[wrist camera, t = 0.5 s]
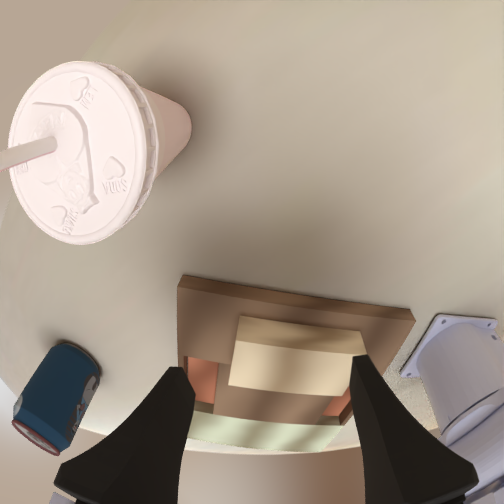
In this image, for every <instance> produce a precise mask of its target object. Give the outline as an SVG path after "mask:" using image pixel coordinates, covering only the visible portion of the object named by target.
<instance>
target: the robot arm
mask: <svg viewBox="0 0 504 504" xmlns="http://www.w3.org/2000/svg"><path fill="white" fill-rule="evenodd" d="M497 323H498V321H497V320H496V319H488V318H476V317H464V316H453V315H442V314H440V315H437V316H436V317H435V319H434V320H433V322H432V324H431V326H430V327H429V329H428V331H427V332H426V334H425V336H424V337H423V339H422V340H421V342H420V344H419V345H418V347H417V348H416V350H415V351H414V353H413V354H412V356H411V357H410V359H409V360H408V362H407V363H406V365H405V366H404V368H403V369H402V370H401V372H400V376H401V377H421V380H422V382H423V385H424V387H425V390H426V393H427V395H428V398H429V401H430V403H431V406H432V409H433V412H434V415H435V418H436V421H437V424H438V427H439V430H440V433H441V437H439V438H438V439H437V438H435V437H434V436H433V435H432V434H430V433H429V432H428V431H427V430H426V429H425V428H424V427H423V426H422V425H421V424H420V423H419V422H418V421H417V420H416V419H415V418H414V417H413V416H412V415H411V414H410V412H409V411H408V410H407V409H406V408H405V407H404V405H403V404H402V403H401V402H400V401H399V399H398V398H397V397H396V396H395V394H394V393H393V391H392V390H391V389H390V387H389V386H388V385H387V383H386V382H385V380H384V379H383V377H382V376H381V374H380V373H379V371H378V370H377V368H376V367H375V365H374V363H373V362H372V360H371V358H370V356H369V355H367V354H365V355H358V356H353V358H352V366H351V374H350V382H349V389H350V397H351V404H352V410H353V414H354V418H355V422H356V427H357V431H358V435H359V440H360V444H361V449H362V455H363V463H364V477H365V498H366V499H365V502H366V504H504V343H503V342H502V340H501V339H500V337H499V336H498V335H497V333H496V332H495V330H494V329H495V327H496V325H497ZM195 397H196V393H195V391H194V389H193V387H192V385H191V383H190V381H189V380H188V378H187V376H186V373H185V371H184V369H183V367H169V368H168V370H167V371H166V372H165V373H164V375H163V376H162V377H161V379H160V380H159V381H158V382H157V384H156V385H155V386H154V388H153V389H152V390H151V391H150V393H149V394H148V395H147V396H146V397H145V399H144V400H143V401H142V402H141V403H140V405H139V406H138V407H137V408H136V409H135V410H134V411H133V412H132V414H131V415H130V416H129V417H128V418H127V419H126V420H125V421H124V422H123V423H122V424H121V425H120V426H119V427H118V428H116V429H115V430H114V431H113V432H112V433H111V434H109V435H108V436H107V437H106V438H104V439H103V440H102V441H100V442H99V443H98V444H96V445H95V446H93V447H92V448H91V449H89V450H87V451H85V452H84V453H82V454H80V455H79V456H77V457H75V458H73V459H71V460H68V461H66V462H64V463H62V464H61V466H60V468H59V471H58V473H57V475H56V478H55V480H54V485H55V486H56V487H58V488H59V489H61V490H63V491H64V492H66V493H68V494H70V495H71V496H73V497H75V498H76V499H77V500H76V502H73V501H71V500H69V499H67V498H66V497H64V496H62V495H59V494H58V493H56V492H53V495H52V497H51V500H50V503H49V504H177V501H178V485H179V474H180V467H181V460H182V455H183V451H184V447H185V444H186V440H187V436H188V432H189V429H190V425H191V421H192V417H193V413H194V405H195Z"/></svg>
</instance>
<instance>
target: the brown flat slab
mask: <svg viewBox="0 0 504 504" xmlns="http://www.w3.org/2000/svg"><path fill="white" fill-rule="evenodd" d="M240 316H246V317H253V318H259V319H265V320H272V321H279V322H286V323H293V324H300V325H308V326H316V327H324V328H333V329H342V330H352V331H360V333H361V336H362V339H363V343H364V346H365V349H366V353H367V355H369V356H370V358H371V360H372V362H373V363H374V365H375V367H376V368H377V370H378V371H379V373H380V374H381V376H382V375H383V374H384V372H385V371H386V369H387V368H388V366H389V365H390V363H391V362H392V360H393V359H394V357H395V355H396V354H397V352H398V351H399V349H400V347H401V346H402V344H403V343H404V341H405V339H406V338H407V336H408V334H409V333H410V331H411V329H412V327H413V326H414V324H415V322H416V320H415V318H414V316H413V314H412V313H411V311H410V309H402V308H393V307H385V306H377V305H369V304H362V303H354V302H347V301H339V300H332V299H325V298H318V297H311V296H305V295H298V294H291V293H285V292H279V291H272V290H266V289H260V288H254V287H248V286H242V285H236V284H230V283H224V282H219V281H213V280H208V279H202V278H197V277H191V276H186V275H183V276H182V278H181V280H180V282H179V284H178V286H177V343H178V367H183V369H184V371H185V373H186V376H187V378H188V380H189V381H190V383H191V385H192V387H193V389H194V391H195V393H196V397H195V405H194V413H193V417H192V421H191V425H190V429H189V432H188V436H187V438H191V439H196V440H201V441H206V442H211V443H217V444H223V445H230V446H237V447H245V448H254V449H264V450H276V451H294V452H321V451H322V450H323V449H324V448H325V447H326V446H327V445H328V443H329V442H330V441H331V440H332V439H333V438H334V437H335V436H336V434H337V433H338V432H339V431H340V430H341V429H342V427H343V426H344V425H345V424H346V423H347V421H348V420H349V419H350V418H351V417H352V415H353V410H352V404H351V397H350V389H349V386H348V387H347V389H346V391H345V392H344V394H343V395H342V396H324V395H308V394H296V393H285V392H275V391H267V390H259V389H251V388H244V387H238V386H231V385H228V383H229V377H230V370H231V364H232V358H233V352H234V347H235V341H236V335H237V329H238V324H239V318H240ZM218 367H219V369H218ZM217 375H218V377H217ZM216 384H217V385H216ZM215 392H216V394H215ZM214 401H215V402H214Z"/></svg>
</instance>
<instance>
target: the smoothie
mask: <svg viewBox="0 0 504 504" xmlns="http://www.w3.org/2000/svg"><path fill="white" fill-rule="evenodd" d="M191 132H192V123H191V119H190V116H189V114H188V113H187V111H186V110H185V109H184V108H183V107H182V106H181V105H180V104H178V103H176V102H174V101H172V100H170V99H168V98H166V97H163V96H161V95H159V94H157V93H154V92H152V91H150V90H148V89H145V88H143V87H141V86H139V85H138V84H137V83H136V82H135V80H134V79H133V78H132V77H131V76H130V75H128V74H127V73H125V72H123V71H122V70H120V69H119V68H117V67H116V66H114V65H110V64H105V63H101V62H96V61H92V62H85V61H73V62H67V63H64V64H61V65H58V66H56V67H54V68H52V69H50V70H48V71H47V72H45V73H44V74H43V75H42V76H40V77H39V78H38V79H37V80H36V81H35V82H34V83H33V84H32V85H31V87H30V88H29V89H28V91H27V92H26V93H25V95H24V96H23V98H22V100H21V102H20V103H19V106H18V107H17V110H16V112H15V115H14V118H13V121H12V125H11V128H10V134H9V141H8V149H5V150H3V151H0V172H2V171H5V170H7V169H9V171H10V177H11V180H12V184H13V187H14V191H15V193H16V195H17V197H18V200H19V202H20V204H21V205H22V207H23V209H24V210H25V212H26V213H27V215H28V216H29V217H30V218H31V220H32V221H33V222H34V223H35V224H36V225H37V226H38V227H39V228H40V229H42V230H43V231H44V232H45V233H47V234H48V235H50V236H52V237H53V238H55V239H57V240H60V241H63V242H66V243H70V244H77V245H84V244H92V243H95V242H98V241H101V240H103V239H105V238H107V237H108V236H110V235H111V234H113V233H114V232H115V231H117V230H118V229H121V228H123V227H124V226H125V225H126V224H127V223H128V222H129V221H130V220H131V219H133V218H134V217H135V216H136V215H137V214H138V212H139V211H140V209H141V208H142V206H143V204H144V203H145V201H146V200H147V198H148V197H149V195H150V192H151V189H152V186H153V183H154V180H155V179H156V178H157V177H158V176H159V174H160V173H161V172H162V171H163V170H164V169H165V168H166V167H167V166H168V165H169V164H170V162H171V161H172V160H173V159H174V158H175V157H176V156H177V155H178V154H179V153H180V152H181V151H182V150H183V149H184V148H185V146H186V145H187V144H188V142H189V139H190V137H191Z"/></svg>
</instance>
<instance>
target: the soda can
mask: <svg viewBox="0 0 504 504" xmlns="http://www.w3.org/2000/svg"><path fill="white" fill-rule="evenodd" d="M99 383H100V378H99V370H98V366H97V364H96V363H95V361H94V360H93V359H92V358H91V357H90V356H89V355H88V354H87V353H86V352H85V351H83V350H82V349H80V348H79V347H77V346H75V345H72V344H69V343H63V344H60V345H56V346H54V347H52V348H51V349H50V351H49V352H48V354H47V355H46V356H45V358H44V359H43V361H42V362H41V364H40V365H39V367H38V368H37V370H36V371H35V373H34V374H33V376H32V377H31V379H30V381H29V382H28V384H27V385H26V387H25V388H24V390H23V392H22V393H21V395H20V397H19V398H18V400H17V402H16V403H15V405H14V413H13V414H14V415H13V418H14V419H13V420H12V425H13V426H14V427H15V428H16V429H17V431H18V432H20V433H21V434H22V435H23V436H24V437H26V438H27V439H28V440H29V441H31V442H32V443H34V444H35V445H36V446H38V447H40V448H41V449H43V450H45V451H47V452H48V453H50V454H53V455H55V456H59V455H60V452H62V451H63V450H65V449H66V448H68V447H69V446H70V444H71V442H72V440H73V438H74V435H75V433H76V431H77V429H78V427H79V425H80V422H81V420H82V418H83V416H84V414H85V412H86V410H87V408H88V406H89V404H90V402H91V400H92V398H93V396H94V394H95V392H96V390H97V388H98V386H99Z"/></svg>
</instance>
